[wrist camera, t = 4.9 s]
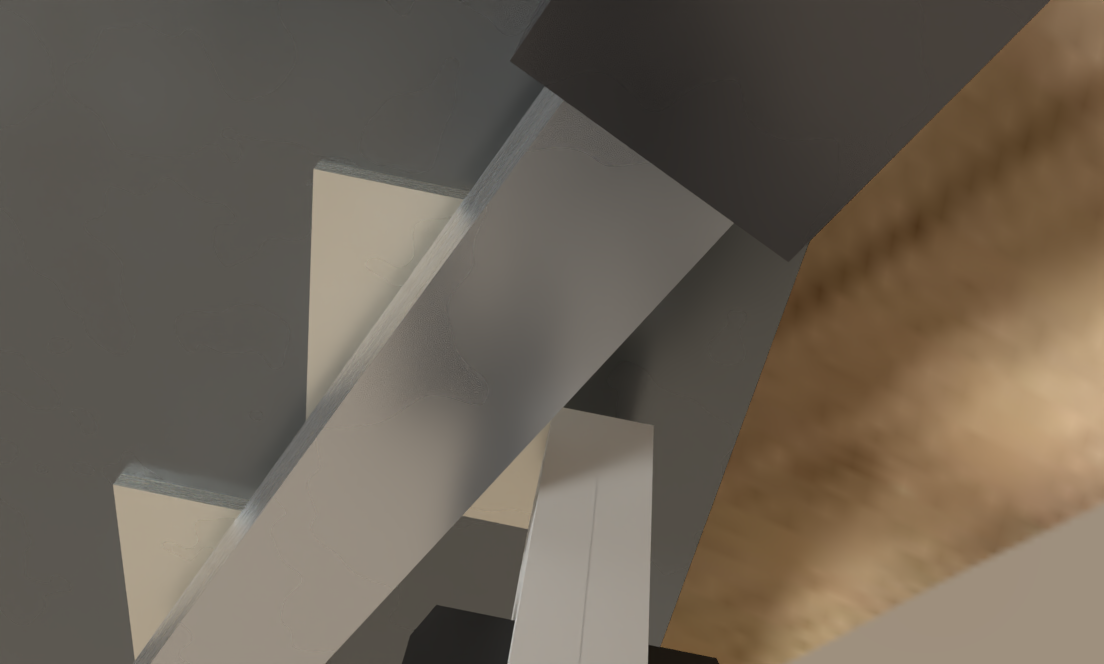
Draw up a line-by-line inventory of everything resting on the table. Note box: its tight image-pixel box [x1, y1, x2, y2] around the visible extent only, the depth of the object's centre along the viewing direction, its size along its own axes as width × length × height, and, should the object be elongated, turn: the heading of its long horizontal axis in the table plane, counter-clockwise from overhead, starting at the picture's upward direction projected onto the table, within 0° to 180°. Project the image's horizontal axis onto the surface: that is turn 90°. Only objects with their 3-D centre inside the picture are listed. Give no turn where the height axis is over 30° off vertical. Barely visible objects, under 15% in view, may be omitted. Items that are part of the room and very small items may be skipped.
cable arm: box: [133, 0, 1050, 664], centre depth 13 cm, size 19×3×3 cm, turn 145°
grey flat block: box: [0, 0, 809, 664], centre depth 17 cm, size 20×15×5 cm
